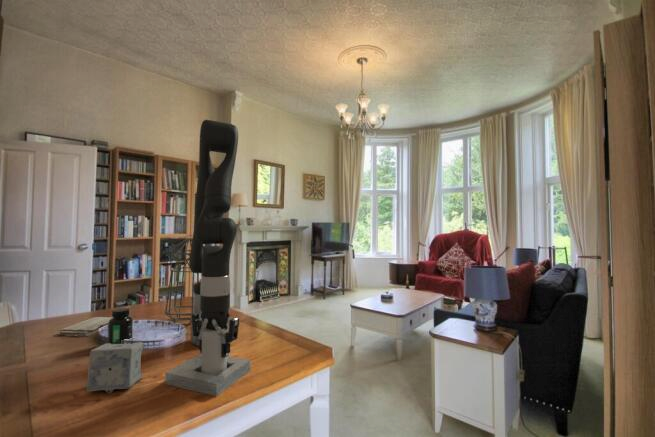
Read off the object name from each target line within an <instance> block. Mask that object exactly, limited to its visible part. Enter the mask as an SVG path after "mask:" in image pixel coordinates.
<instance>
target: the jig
mask: <svg viewBox="0 0 655 437" xmlns="http://www.w3.org/2000/svg"><path fill="white" fill-rule="evenodd" d="M249 372H251V360H250V359H246V358H241V357H235V356H230V355H228V356H227V369H226V370H224V371H223V372H221V373H220V374H218V375H217V376H215V375H210V374H206V373H202V353H199V354H197V355H196V356H194V357H192V358H190V359H188V360H186V361H184V362H182V363H180V364H179V365H176V367H173V368H171V369H169V370H168V371H166V372H165V385H167V386H172V387H176V388H180V389H183V390H184V389H185V390H187V391H188V390H189V391H193V392H195V393H196V392H197V393H200V394H205V395H209V396H213V397H219V395H220V394H222V393H223V392H225V390H226V391H227V389H229V388H230V387H232V385H234V384H235V383H236V382H238V380H240V379H241V378H242V377H244V376H246V375H247V374H248V373H249Z"/></svg>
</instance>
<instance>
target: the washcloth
mask: <svg viewBox="0 0 655 437" xmlns="http://www.w3.org/2000/svg"><path fill="white" fill-rule="evenodd" d="M112 318H113V317H112V316H110V317H106V316H105V317H103V316H95V317H91V318H89V319H85V320H83V321H80V322H78V323H74V324H73V325H69V326H67V327H64V328H62V329H59V336H63V335H77V336H76V337H80V336H85V337H88V336H92V335H91V334H93V335H95V334H97V333H96V332H97V331H98V329H99V328H101V327H103V326H105V325H108V322H109V320H110V319H112ZM94 333H95V334H94Z"/></svg>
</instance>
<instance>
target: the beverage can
mask: <svg viewBox="0 0 655 437" xmlns="http://www.w3.org/2000/svg"><path fill="white" fill-rule="evenodd" d="M224 330H225V328H223V329H222V331H224ZM203 331H204V332H203V333H202V373H206V374H210V375H215V376H217V375H218V374H220V373H221V372H223V371H224V370H226V369H227V357H225V358H223V357H221V350H222V340H221V336H219V335H218V334H217V332H218V331H216V330H210V329H207V328H206V329H205V330H204V329H203ZM225 337H226V333H225Z"/></svg>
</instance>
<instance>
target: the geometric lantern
mask: <svg viewBox="0 0 655 437" xmlns="http://www.w3.org/2000/svg"><path fill="white" fill-rule="evenodd" d="M192 239H193V237H187V238H186V239H184V240H182V241H181V242H179V243H177V244H174V246H171V247H170V248H168V249H166V250H165V251H164V252H163V253H165V254H166V255H167V256H168V257H169V261H170V263H169V265H170V266H169V267H170V268H169V269H170V276H169V284H168V289H167V295H166V297H167V298H166V302H165V303H166V304H165V310H164V314H165V316H167V317H168V318H170V319H171V320H172V322H174V323H175V324H176V322H177V321H182V320H183V321H191V315H192V314H194V286H195V273H193V272H192V271H191V270H190V271H188V270H185V269H190V263H189V261H190V251H191V249H190V250H189V249H188V248H189V245H190V246H191V245H192ZM185 245H186V247H185ZM203 246H205V244H203ZM184 247H185V249H184ZM188 252H189V253H188ZM179 255H183V256H184V259H180V258H179ZM186 256H188V258H186ZM172 260H175V262H176V263H175V265H174V267H173V268H172V266H173V265H172ZM179 262H185V264H184V265H183V266H181V265H180V263H179ZM186 265H187V266H186ZM188 266H189V267H188ZM177 269H178V270H177ZM181 269H182V270H181ZM176 272H177V280H176V288H175V296H174V304H173V307H172V306H171V305H172V293H173V292H172V291H173V281H174V280H173V279H174V278H173V277H174V273H176ZM181 273H182V277H181V279H182V280H181V287H180V288H181V290H180V291H181V292H180V301H179V306H178V305H177V296H178V290H179V289H178V288H179V280H180V274H181ZM185 273H192V281H191V282H192V284H191V305H182V302H183V290H184V278H185V277H184V276H185ZM199 274H200V273H196V275H197V276H196V278H197V279H196V280H197V281H196V284H197V283H199V282H200V281H199V280H200V277H199V276H200V275H199ZM176 305H177V306H176ZM171 307H172V308H171ZM177 308H179V313H178V311H177ZM181 308H191V313H189V312H188V313H181ZM173 310H174V311H175V313H171V311H173ZM173 316H174V317H173ZM181 316H184V317H181ZM187 316H188V317H187ZM189 316H190V317H189ZM182 324H183V326H184V325H191V322H190V323H182Z"/></svg>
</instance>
